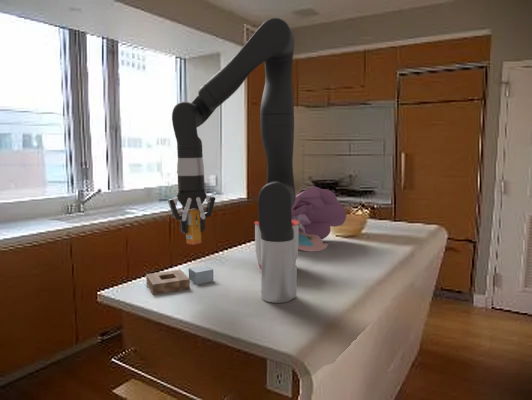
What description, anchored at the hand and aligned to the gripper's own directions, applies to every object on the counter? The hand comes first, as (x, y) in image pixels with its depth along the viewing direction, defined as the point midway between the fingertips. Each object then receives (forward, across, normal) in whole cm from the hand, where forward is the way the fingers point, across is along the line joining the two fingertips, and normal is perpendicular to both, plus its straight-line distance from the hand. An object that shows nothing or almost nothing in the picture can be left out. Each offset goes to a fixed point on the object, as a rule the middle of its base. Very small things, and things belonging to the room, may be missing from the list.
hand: (193, 232), depth 118 cm
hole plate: (+18, -6, +9) cm, 21 cm away
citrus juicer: (+19, +32, +10) cm, 38 cm away
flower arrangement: (+19, +59, +35) cm, 71 cm away
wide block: (+18, +5, +10) cm, 22 cm away
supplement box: (+3, 0, 0) cm, 3 cm away
